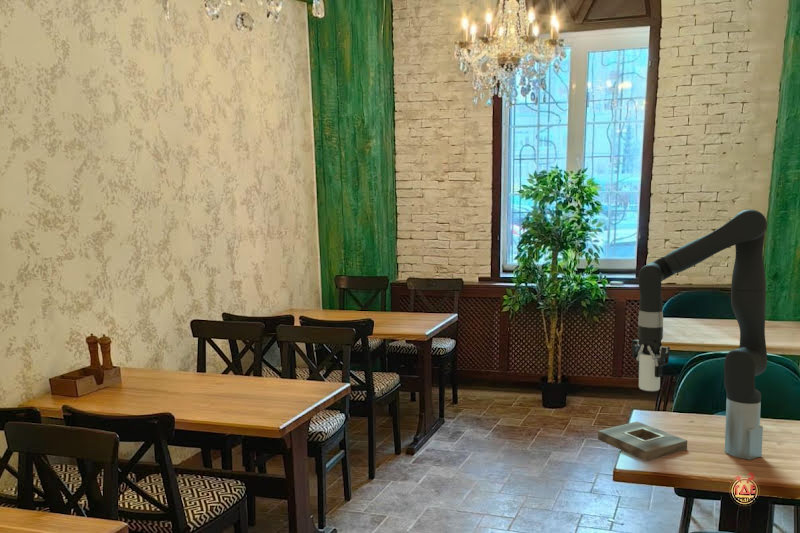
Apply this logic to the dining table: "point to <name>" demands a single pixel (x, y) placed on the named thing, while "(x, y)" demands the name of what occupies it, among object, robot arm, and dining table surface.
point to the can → (648, 373)
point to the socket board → (632, 443)
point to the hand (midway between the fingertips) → (649, 374)
